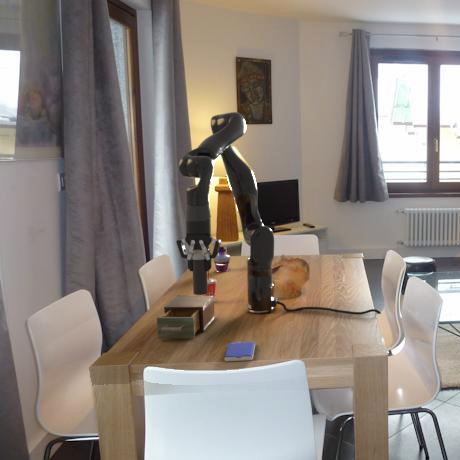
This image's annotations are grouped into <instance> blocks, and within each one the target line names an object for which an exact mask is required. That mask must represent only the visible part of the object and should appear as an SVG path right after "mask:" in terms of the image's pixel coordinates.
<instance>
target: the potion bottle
mask: <svg viewBox="0 0 460 460" xmlns="http://www.w3.org/2000/svg"><path fill="white" fill-rule="evenodd" d="M226 252H227V248H226V246H225V245H220V248H219V251H218V255H217V257H215V258H213V259H212V260H213V264H214V266H215V269H216V270H215V271H216V272H218V273H225V272H228V270H229V269H228V268H229V264H230V260H231V255H229V254H225V253H226Z"/></svg>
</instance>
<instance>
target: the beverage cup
mask: <svg viewBox="0 0 460 460" xmlns="http://www.w3.org/2000/svg"><path fill="white" fill-rule="evenodd" d="M217 281H218V280H217V279H216V278H210V270H209V271H207V284H208V293H207V294H203V295H202V296H214V304H215V303H216V300H217V299H216V297H217V296H216V295H217Z"/></svg>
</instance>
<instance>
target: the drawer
mask: <svg viewBox="0 0 460 460" xmlns="http://www.w3.org/2000/svg"><path fill="white" fill-rule="evenodd" d="M156 327H157V329H156V331H157V339H195V338H196V333H198V332H197V331H198V329H199V328H200V327H201V315H200V310H169V311H168V312H166V313H164V314H163V315H162V316H157V317H156Z"/></svg>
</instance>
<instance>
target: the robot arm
mask: <svg viewBox="0 0 460 460" xmlns="http://www.w3.org/2000/svg"><path fill="white" fill-rule="evenodd" d="M210 129H211V133H212V134H211V135H209V136H208V137H206V138H205V139H204V140H202V141H201V143H200V144H199V145H198V146H196V147H195V148H193V149H192V150H190V151H188V152H186V153H185V154H183V155H182V156H181V157H180V159H179V160H178V163H177V170H178V172H179V174H180V175H181V176H182V177H184V178H188V179H199V181H198V183H197V184H192V185H189V186H186V188H185V191H184V192H185V211H184V212H185V213H184V214H185V237H184V238H179V239H177V240H176V245H177V248H178V251H179V254H180V257H181V258H182V259H185V260H187V269H188V270H189V272H193V267H192V255H195V252H196V251H198V250H199V251H202V254H205V257H206V260H205V262H206V271H207V272H208V271H209V272H210V270H211V269H212V266H213V265H212V260H213V258H215V257H217V255H219V252H218V251H219V248H220V246H221V243H222V240H221V239H220V238H219V239H216V238H214V237H213V236H212V223H211V218H212V215H211V208H210V188H211V182H212V178H213V176H214V170H215V163H216V161H217V160H218V159H219V157H220V156H221V157H220V158H221V159H222V163H223V166H224V170H225V173H226V176H227V181H228V185H229V188H230V190H231V193H232V197H233V200H234V203H235V206H236V209H237V212H238V215H239V219H240V225H241V230H242V236H243V240H244V242H245V244H246V245H248V246H249V247H250V248H249V249H250V251H249V253H250V254H249V258H248V259H247V260H246V276H247V277H246V281H247V282H246V284H247V286H246V287H247V303H246V308H247V312H248V313H250V314H259V315H260V314H267V313H272V312H273V311H274V308H277V306H278V305H280V306H282V307H283V310H284V311H285V312H299V311H303V310H317V311H319V310H320V311H328V312H335V313H341V314H347V315H357V316H359V315H366V314H368V313H372V312H373V313H377V314H379V315H381V314H382V312H381V311H379V310H378V309H376V308H371V309H367V310H364V311H350V310H344V309H336V308H331V307H324V306H301V307H297V308H293V309H291V308H287V305H286V304H285V303H284V302H282V301H280V300H279V297H278V296H275V295H274V293H275V289H274V284H273V261H274V258H275V236H274V235H275V234H274V232H273V230H272V229H271V228H270V227H269V226H266V225H264V223H263V222H262V219H261V215H260V212H259V208H258V199H259V198H258V194H259V193H258V191H259V190H258V186H257V182H256V177H255V175H254V172H253V170H252V168H251V167H250V166H249V165H248V164H247V163H246V162H245V161H244V160H243V159H242V158H240V156H239V155H238V154H237V153H236V152H235V150H234V149H233V146H232V144H234V143H235V142H236V141H238V140H239V139H240V138H242V137H243V136H244V135H245V133H246V130H247V124H246V120H245V117H244V116H243V115H242V114H241V113H240V112H236V111H231V112H226V113H221V114H215V115H213V116H211V119H210ZM211 243H212V246H213V250H212V253H211V248H210V244H211ZM186 244H187V245H188V246H189V249H188V251H187V249H186V246H185V245H186Z"/></svg>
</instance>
